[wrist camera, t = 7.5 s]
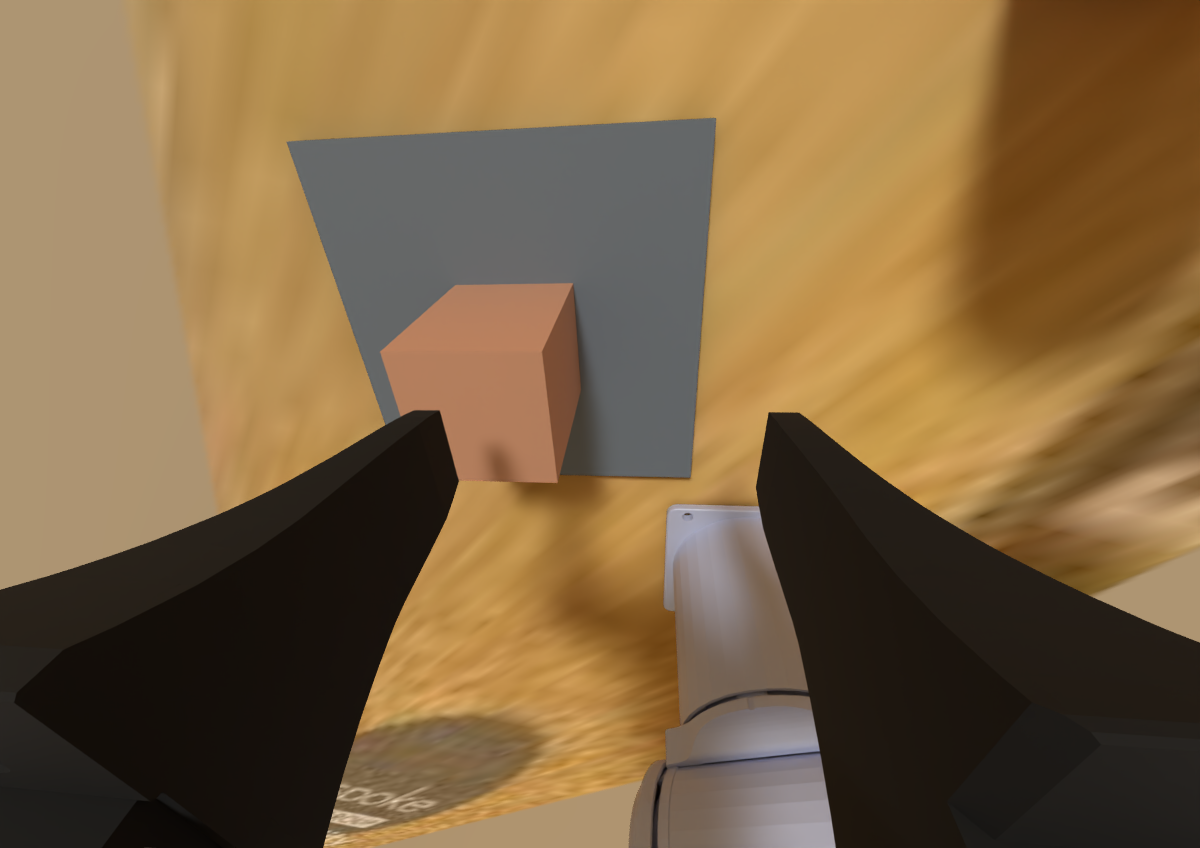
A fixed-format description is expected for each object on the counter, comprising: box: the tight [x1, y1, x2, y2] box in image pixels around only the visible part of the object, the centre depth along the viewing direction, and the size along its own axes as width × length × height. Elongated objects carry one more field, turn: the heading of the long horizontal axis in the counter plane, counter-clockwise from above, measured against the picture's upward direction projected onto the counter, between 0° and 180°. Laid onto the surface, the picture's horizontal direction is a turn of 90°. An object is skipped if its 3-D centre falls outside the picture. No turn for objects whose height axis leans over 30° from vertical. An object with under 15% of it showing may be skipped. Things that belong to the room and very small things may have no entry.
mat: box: [287, 118, 716, 478], centre depth 19 cm, size 14×14×1 cm
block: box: [380, 283, 581, 483], centre depth 17 cm, size 4×4×6 cm
